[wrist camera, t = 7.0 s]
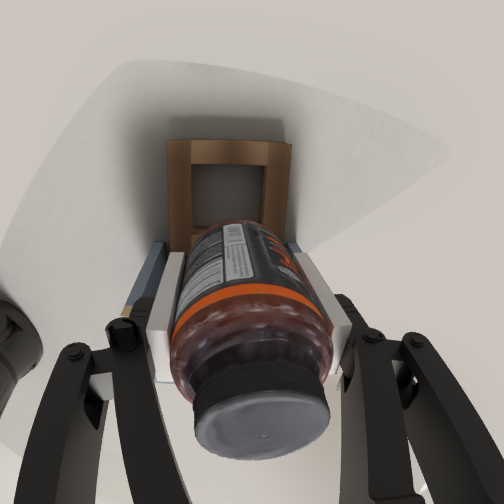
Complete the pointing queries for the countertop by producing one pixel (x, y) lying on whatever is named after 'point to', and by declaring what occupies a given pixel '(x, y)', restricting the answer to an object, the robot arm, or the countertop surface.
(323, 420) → the supplement bottle
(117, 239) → the countertop surface
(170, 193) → the socket
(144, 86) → the countertop surface
